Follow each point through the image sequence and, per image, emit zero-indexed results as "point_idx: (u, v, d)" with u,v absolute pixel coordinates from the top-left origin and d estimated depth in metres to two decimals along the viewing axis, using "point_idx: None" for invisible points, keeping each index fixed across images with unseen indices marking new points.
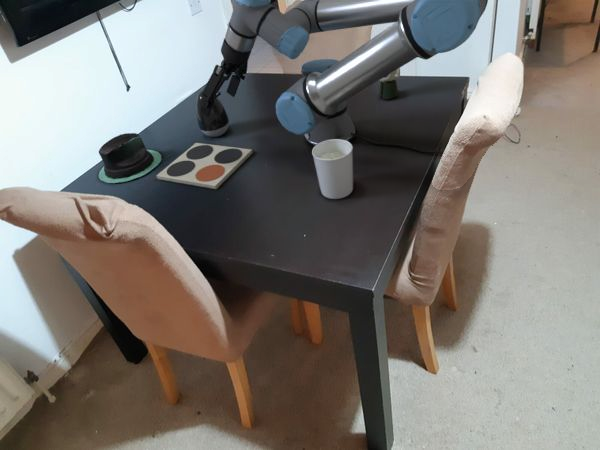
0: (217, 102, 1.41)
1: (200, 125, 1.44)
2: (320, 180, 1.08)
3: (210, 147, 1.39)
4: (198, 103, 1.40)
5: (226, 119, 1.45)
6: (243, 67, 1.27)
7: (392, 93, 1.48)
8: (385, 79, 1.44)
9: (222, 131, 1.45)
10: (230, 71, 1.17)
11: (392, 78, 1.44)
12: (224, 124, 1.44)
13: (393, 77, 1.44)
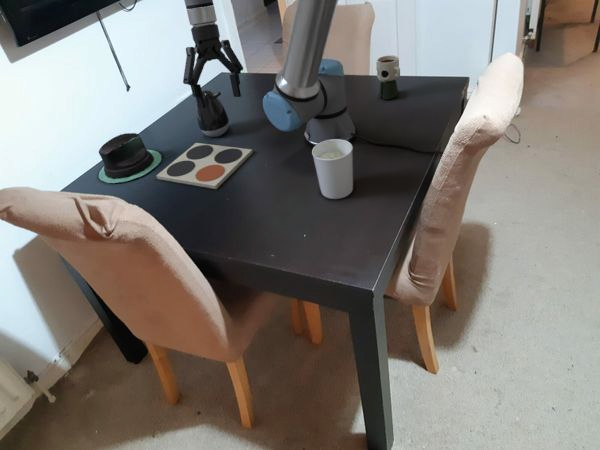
0: (217, 102, 1.41)
1: (200, 125, 1.44)
2: (320, 180, 1.08)
3: (210, 147, 1.39)
4: None
5: (226, 119, 1.45)
6: (234, 61, 1.31)
7: (392, 93, 1.48)
8: (385, 79, 1.44)
9: (222, 131, 1.45)
10: (205, 52, 1.23)
11: (392, 78, 1.44)
12: (224, 124, 1.44)
13: (393, 77, 1.44)
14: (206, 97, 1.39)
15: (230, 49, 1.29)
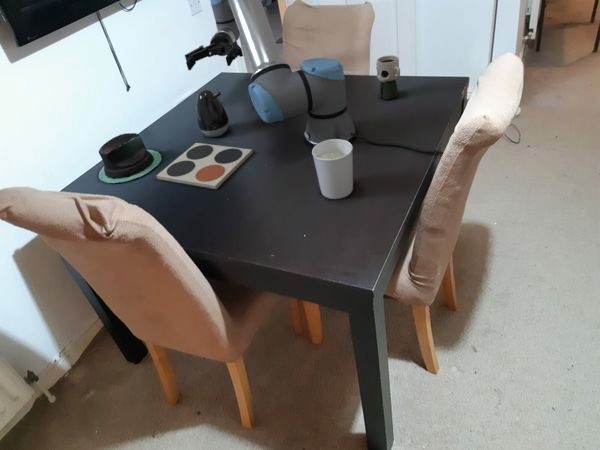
0: (217, 102, 1.41)
1: (200, 125, 1.44)
2: (320, 180, 1.08)
3: (210, 147, 1.39)
4: (198, 103, 1.40)
5: (226, 119, 1.45)
6: (236, 48, 1.50)
7: (392, 93, 1.48)
8: (385, 79, 1.44)
9: (222, 131, 1.45)
10: None
11: (392, 78, 1.44)
12: (224, 124, 1.44)
13: (393, 77, 1.44)
14: (206, 97, 1.39)
15: (235, 43, 1.52)
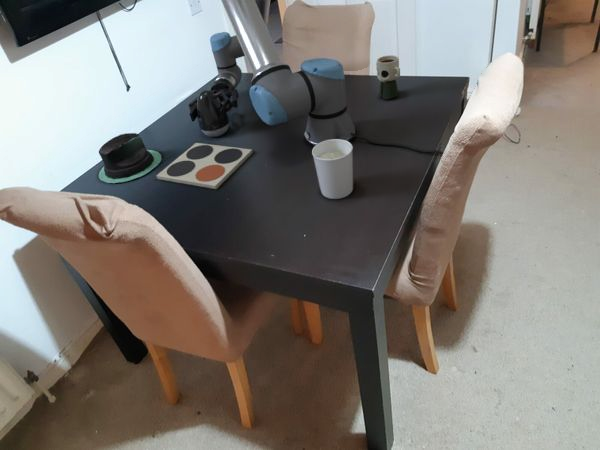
0: (218, 102, 1.41)
1: (200, 125, 1.44)
2: (320, 180, 1.08)
3: (210, 147, 1.39)
4: (199, 103, 1.40)
5: (226, 119, 1.45)
6: None
7: (392, 93, 1.48)
8: (385, 79, 1.44)
9: (222, 131, 1.45)
10: None
11: (392, 78, 1.44)
12: (224, 124, 1.44)
13: (393, 77, 1.44)
14: (207, 97, 1.39)
15: (234, 92, 1.50)
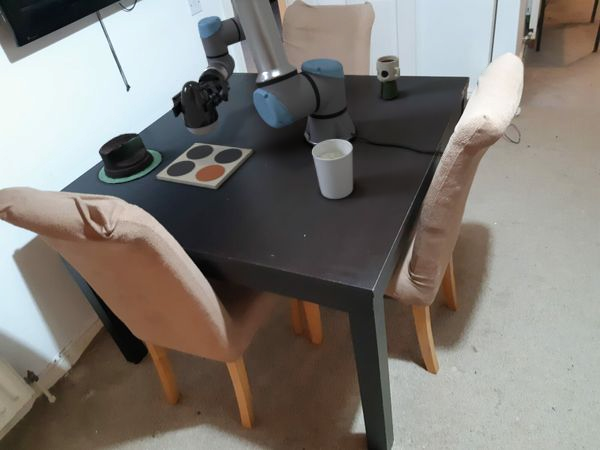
0: (205, 95, 1.22)
1: (185, 122, 1.25)
2: (320, 180, 1.08)
3: (210, 147, 1.39)
4: (182, 96, 1.21)
5: (215, 115, 1.25)
6: None
7: (392, 93, 1.48)
8: (385, 79, 1.44)
9: (211, 129, 1.26)
10: None
11: (392, 78, 1.44)
12: (213, 121, 1.25)
13: (393, 77, 1.44)
14: (192, 89, 1.20)
15: (224, 84, 1.30)
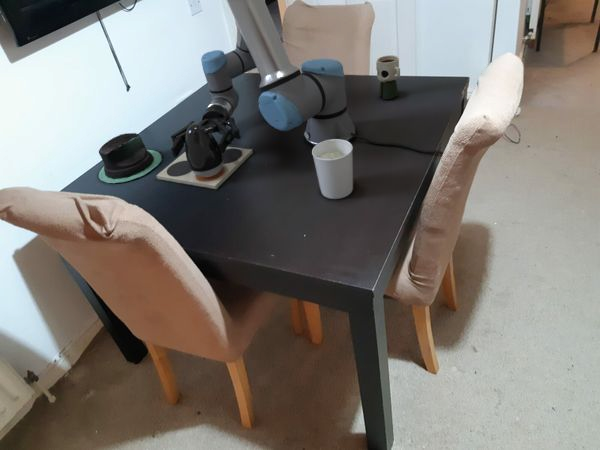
0: (210, 138, 1.19)
1: (190, 165, 1.21)
2: (320, 180, 1.08)
3: None
4: (187, 140, 1.18)
5: (221, 157, 1.22)
6: (232, 128, 1.25)
7: (392, 93, 1.48)
8: (385, 79, 1.44)
9: (216, 171, 1.23)
10: None
11: (392, 78, 1.44)
12: (218, 163, 1.22)
13: (393, 77, 1.44)
14: (197, 132, 1.16)
15: (231, 121, 1.27)
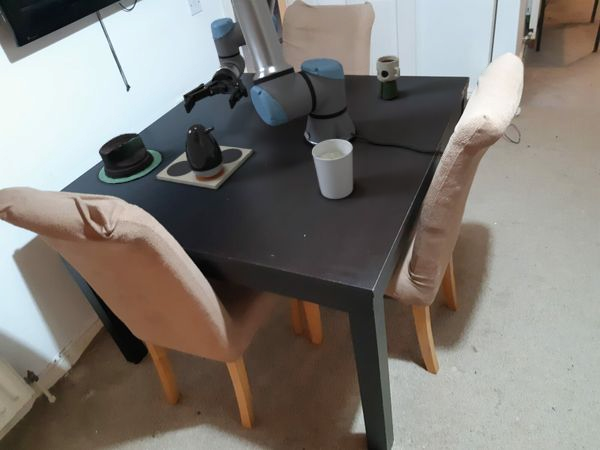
0: (210, 138, 1.19)
1: (190, 165, 1.21)
2: (320, 180, 1.08)
3: None
4: (187, 140, 1.18)
5: (221, 157, 1.22)
6: (240, 87, 1.34)
7: (392, 93, 1.48)
8: (385, 79, 1.44)
9: (216, 171, 1.23)
10: None
11: (392, 78, 1.44)
12: (218, 163, 1.22)
13: (393, 77, 1.44)
14: (197, 132, 1.16)
15: (239, 82, 1.36)
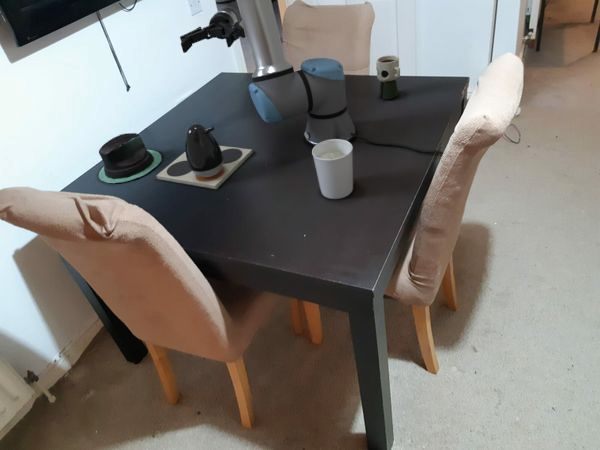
0: (210, 138, 1.19)
1: (190, 165, 1.21)
2: (320, 180, 1.08)
3: None
4: (187, 140, 1.18)
5: (221, 157, 1.22)
6: (237, 29, 1.32)
7: (392, 93, 1.48)
8: (385, 79, 1.44)
9: (216, 171, 1.23)
10: None
11: (392, 78, 1.44)
12: (218, 163, 1.22)
13: (393, 77, 1.44)
14: (197, 132, 1.16)
15: (236, 24, 1.35)
